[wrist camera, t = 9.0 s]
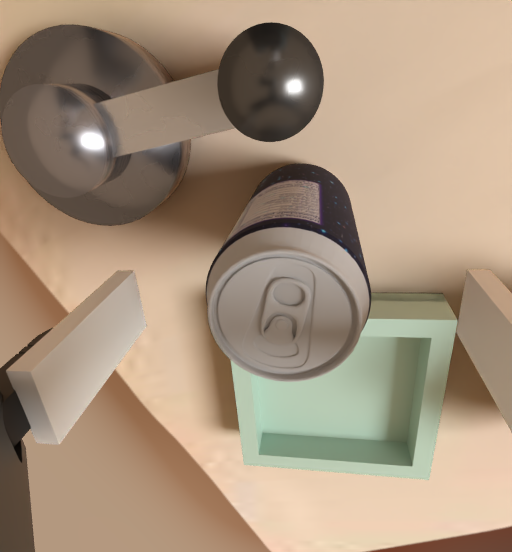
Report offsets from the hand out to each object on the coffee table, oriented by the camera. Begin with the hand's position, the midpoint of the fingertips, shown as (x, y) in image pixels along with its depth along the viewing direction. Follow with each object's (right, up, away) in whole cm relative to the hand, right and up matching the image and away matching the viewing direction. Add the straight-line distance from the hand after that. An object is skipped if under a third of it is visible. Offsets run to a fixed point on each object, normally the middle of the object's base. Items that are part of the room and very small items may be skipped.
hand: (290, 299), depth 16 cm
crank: (-6, +9, +4) cm, 11 cm away
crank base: (-10, +9, +7) cm, 15 cm away
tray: (+4, -6, +12) cm, 14 cm away
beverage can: (+1, +5, +7) cm, 9 cm away
